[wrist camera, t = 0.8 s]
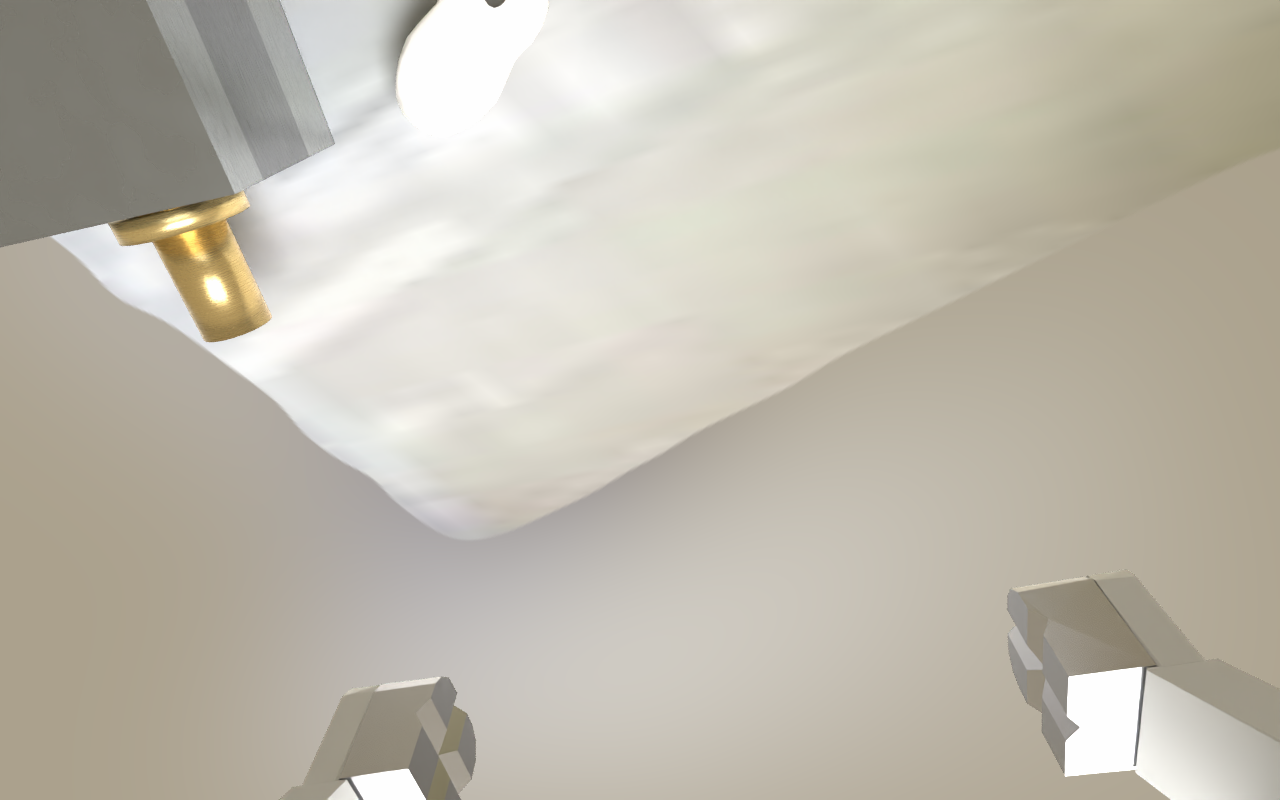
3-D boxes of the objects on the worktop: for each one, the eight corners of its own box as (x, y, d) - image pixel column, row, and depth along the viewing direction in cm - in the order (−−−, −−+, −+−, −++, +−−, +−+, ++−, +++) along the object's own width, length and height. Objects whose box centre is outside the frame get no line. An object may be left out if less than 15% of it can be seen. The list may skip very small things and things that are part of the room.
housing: (26, -16, 45) (-191, -15, 33) (249, -76, 43) (101, -97, 31) (133, 190, 50) (-22, 252, 39) (334, 144, 48) (235, 194, 37)
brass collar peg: (88, 69, 43) (-6, 83, 37) (202, 40, 43) (125, 50, 36) (214, 316, 50) (153, 362, 44) (314, 295, 50) (265, 340, 43)
